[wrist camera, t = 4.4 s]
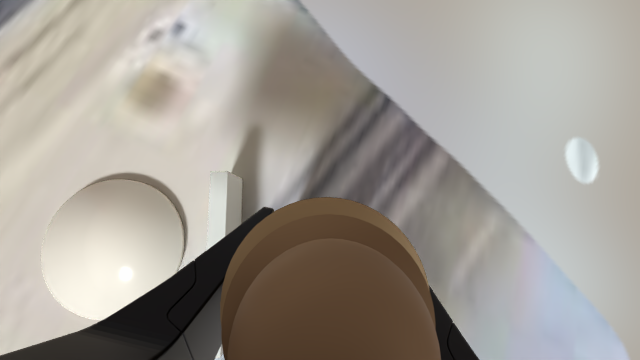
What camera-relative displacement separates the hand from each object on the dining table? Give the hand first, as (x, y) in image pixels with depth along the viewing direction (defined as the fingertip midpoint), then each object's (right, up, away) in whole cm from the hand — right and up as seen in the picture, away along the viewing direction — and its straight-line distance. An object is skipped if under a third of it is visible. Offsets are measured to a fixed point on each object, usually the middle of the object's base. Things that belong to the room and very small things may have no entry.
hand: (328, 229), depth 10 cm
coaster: (-14, -2, +6) cm, 16 cm away
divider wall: (-6, -3, +7) cm, 10 cm away
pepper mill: (0, -2, +6) cm, 7 cm away
